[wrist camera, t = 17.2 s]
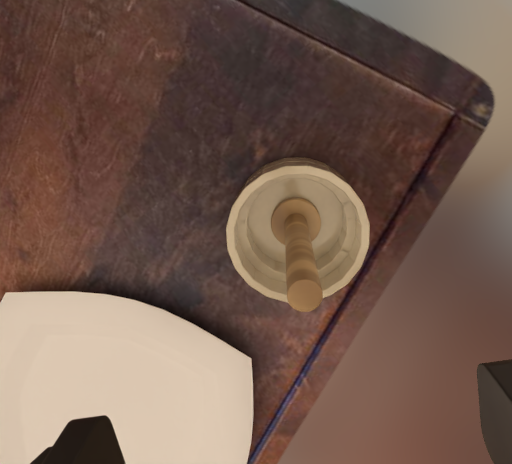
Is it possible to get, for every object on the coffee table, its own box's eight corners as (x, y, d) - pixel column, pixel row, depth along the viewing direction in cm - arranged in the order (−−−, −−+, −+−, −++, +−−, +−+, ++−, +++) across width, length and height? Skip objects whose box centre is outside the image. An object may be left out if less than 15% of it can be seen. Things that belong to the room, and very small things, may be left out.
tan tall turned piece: (289, 187, 36) (295, 243, 22) (329, 214, 37) (361, 287, 22) (261, 226, 37) (249, 304, 23) (301, 252, 38) (313, 345, 24)
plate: (-33, 486, 48) (-46, 502, 46) (-7, 251, 40) (-22, 258, 38) (215, 550, 48) (212, 568, 46) (286, 330, 41) (287, 341, 39)
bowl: (279, 131, 36) (279, 136, 31) (382, 202, 37) (399, 219, 32) (211, 233, 38) (199, 254, 33) (309, 297, 40) (313, 327, 34)
